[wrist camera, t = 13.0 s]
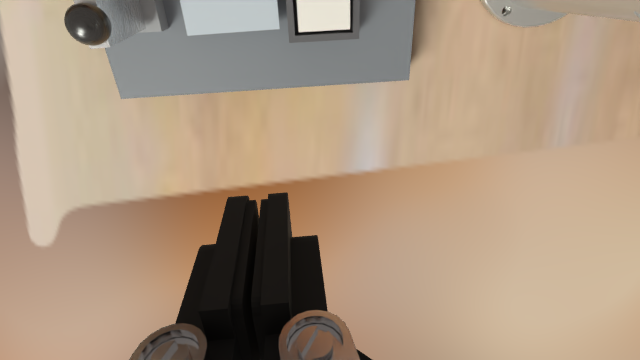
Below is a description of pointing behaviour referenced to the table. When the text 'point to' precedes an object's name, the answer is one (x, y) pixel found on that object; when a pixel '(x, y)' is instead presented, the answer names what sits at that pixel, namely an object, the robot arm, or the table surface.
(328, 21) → the push button
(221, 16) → the rocker switch
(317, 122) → the table surface
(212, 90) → the switch panel
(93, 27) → the toggle lever
